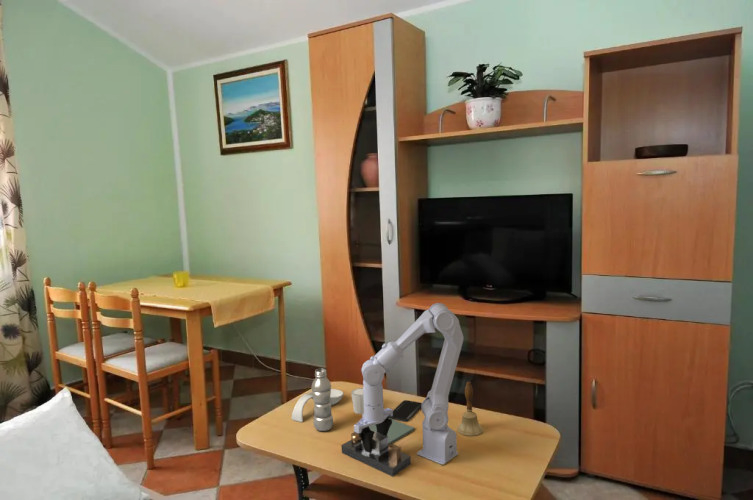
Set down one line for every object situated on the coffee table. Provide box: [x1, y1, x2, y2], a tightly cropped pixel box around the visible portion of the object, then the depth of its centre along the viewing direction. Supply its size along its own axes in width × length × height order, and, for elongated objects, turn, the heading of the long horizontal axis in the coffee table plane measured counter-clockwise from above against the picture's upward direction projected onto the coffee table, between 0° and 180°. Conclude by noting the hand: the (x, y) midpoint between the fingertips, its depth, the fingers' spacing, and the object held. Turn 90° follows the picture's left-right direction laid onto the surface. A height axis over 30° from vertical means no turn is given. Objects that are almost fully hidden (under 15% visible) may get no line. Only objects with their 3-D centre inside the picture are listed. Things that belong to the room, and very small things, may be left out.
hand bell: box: [456, 381, 484, 437], centre depth 159 cm, size 8×8×16 cm
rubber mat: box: [369, 418, 416, 446], centre depth 161 cm, size 14×14×1 cm
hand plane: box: [341, 431, 412, 478], centre depth 144 cm, size 20×8×6 cm, turn 48°
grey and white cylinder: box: [350, 387, 364, 415], centre depth 177 cm, size 7×7×7 cm
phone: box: [388, 399, 422, 423], centre depth 175 cm, size 8×1×15 cm
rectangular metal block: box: [361, 430, 390, 455], centre depth 144 cm, size 7×4×4 cm, turn 48°
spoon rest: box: [291, 388, 345, 423], centre depth 180 cm, size 24×12×7 cm, turn 149°
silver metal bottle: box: [310, 368, 334, 432], centre depth 163 cm, size 6×7×20 cm
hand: (375, 447), depth 144 cm, fingers open, 5 cm apart
